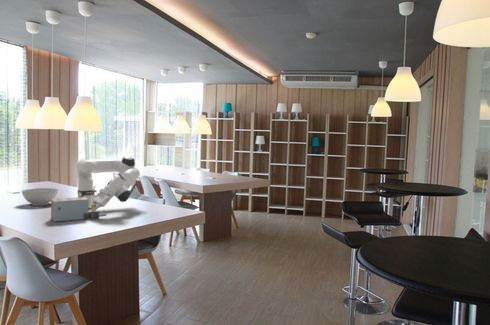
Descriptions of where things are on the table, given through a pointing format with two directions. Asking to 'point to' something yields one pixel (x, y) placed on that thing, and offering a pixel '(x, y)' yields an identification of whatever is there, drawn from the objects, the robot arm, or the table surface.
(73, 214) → the cabinet door
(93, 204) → the hinge pin
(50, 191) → the decorative bowl
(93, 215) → the grey hollow ring
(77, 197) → the cabinet
